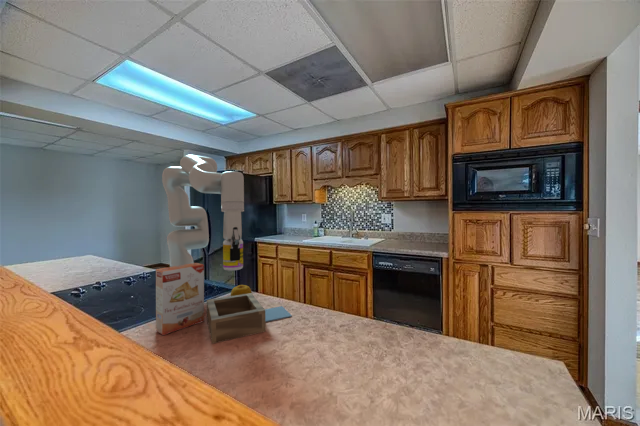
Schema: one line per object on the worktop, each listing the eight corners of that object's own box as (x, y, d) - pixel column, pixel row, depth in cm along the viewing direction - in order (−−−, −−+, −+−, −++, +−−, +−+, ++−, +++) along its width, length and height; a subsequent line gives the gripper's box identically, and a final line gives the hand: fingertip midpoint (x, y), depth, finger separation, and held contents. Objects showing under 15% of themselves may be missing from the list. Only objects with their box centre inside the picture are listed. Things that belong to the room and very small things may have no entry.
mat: (255, 312, 101) (255, 311, 101) (282, 307, 106) (282, 306, 106) (262, 323, 92) (262, 321, 92) (291, 316, 97) (291, 315, 97)
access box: (206, 318, 96) (206, 299, 96) (251, 310, 103) (251, 293, 103) (211, 343, 78) (211, 320, 78) (265, 331, 85) (265, 310, 85)
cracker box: (163, 336, 83) (162, 271, 82) (155, 331, 86) (154, 268, 86) (205, 321, 94) (204, 263, 94) (196, 317, 97) (195, 261, 97)
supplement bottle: (239, 271, 87) (239, 233, 87) (220, 271, 87) (219, 233, 87) (245, 266, 94) (245, 231, 94) (227, 266, 94) (227, 231, 94)
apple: (231, 304, 111) (230, 283, 111) (251, 301, 113) (251, 281, 113) (230, 311, 103) (230, 289, 103) (252, 308, 105) (252, 287, 105)
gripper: (218, 207, 96) (219, 255, 96) (224, 207, 81) (225, 264, 81) (239, 207, 100) (239, 254, 100) (249, 207, 84) (249, 261, 84)
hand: (233, 258), depth 90 cm, fingers closed on supplement bottle, 6 cm apart
